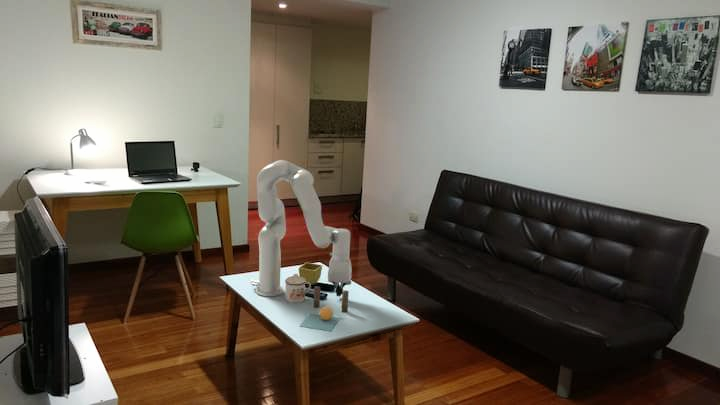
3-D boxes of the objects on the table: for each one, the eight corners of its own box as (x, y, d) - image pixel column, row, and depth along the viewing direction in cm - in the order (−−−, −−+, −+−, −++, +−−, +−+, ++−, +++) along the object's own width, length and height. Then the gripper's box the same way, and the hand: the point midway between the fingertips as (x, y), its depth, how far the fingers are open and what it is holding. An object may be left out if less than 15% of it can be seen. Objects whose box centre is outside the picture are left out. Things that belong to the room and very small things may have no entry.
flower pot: (314, 288, 262) (315, 270, 260) (297, 285, 265) (298, 267, 263) (322, 282, 270) (322, 265, 268) (305, 279, 273) (306, 262, 271)
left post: (312, 307, 240) (313, 288, 239) (314, 305, 243) (315, 286, 241) (318, 308, 240) (319, 288, 238) (320, 306, 242) (321, 286, 240)
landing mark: (299, 326, 222) (299, 325, 222) (310, 313, 234) (310, 313, 234) (330, 331, 219) (330, 330, 219) (340, 318, 231) (340, 317, 231)
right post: (340, 312, 238) (341, 292, 236) (342, 309, 240) (343, 290, 238) (346, 312, 237) (347, 293, 235) (348, 310, 239) (349, 290, 238)
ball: (320, 303, 231) (320, 315, 232) (318, 310, 226) (318, 322, 227) (333, 304, 230) (333, 316, 232) (331, 310, 225) (331, 323, 227)
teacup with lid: (289, 304, 243) (290, 279, 240) (281, 297, 250) (282, 272, 248) (314, 300, 249) (315, 275, 246) (306, 293, 256) (306, 269, 254)
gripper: (322, 256, 246) (320, 295, 250) (354, 261, 243) (352, 300, 247) (327, 252, 253) (325, 290, 257) (359, 256, 250) (357, 294, 254)
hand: (339, 295), depth 252 cm, fingers closed
